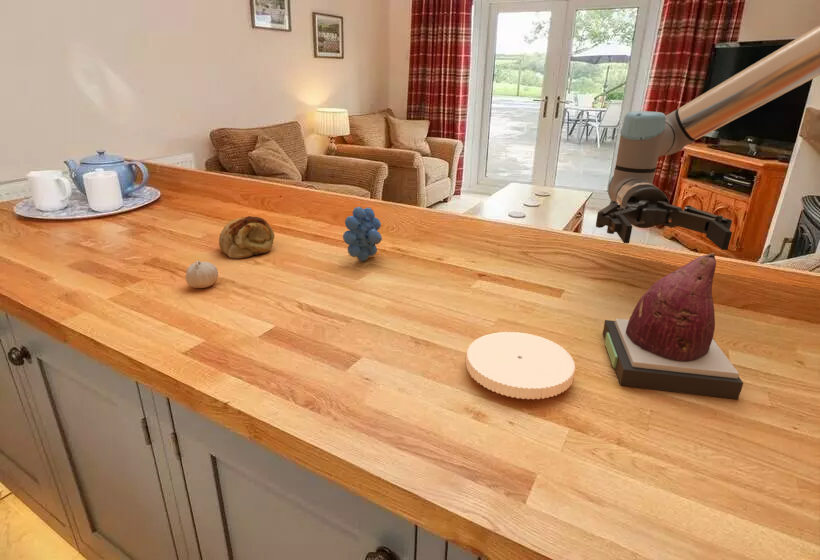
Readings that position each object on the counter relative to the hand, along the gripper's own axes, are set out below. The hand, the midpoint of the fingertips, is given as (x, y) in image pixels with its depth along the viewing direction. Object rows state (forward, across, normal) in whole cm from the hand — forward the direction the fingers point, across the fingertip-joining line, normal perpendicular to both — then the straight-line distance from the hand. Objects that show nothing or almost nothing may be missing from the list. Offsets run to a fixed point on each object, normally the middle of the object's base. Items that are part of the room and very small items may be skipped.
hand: (676, 237), depth 72 cm
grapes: (-18, +53, -15) cm, 58 cm away
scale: (+11, +2, -15) cm, 19 cm away
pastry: (-20, +81, -15) cm, 85 cm away
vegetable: (+10, +2, -12) cm, 16 cm away
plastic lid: (+18, +22, -15) cm, 32 cm away
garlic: (0, +79, -15) cm, 80 cm away
